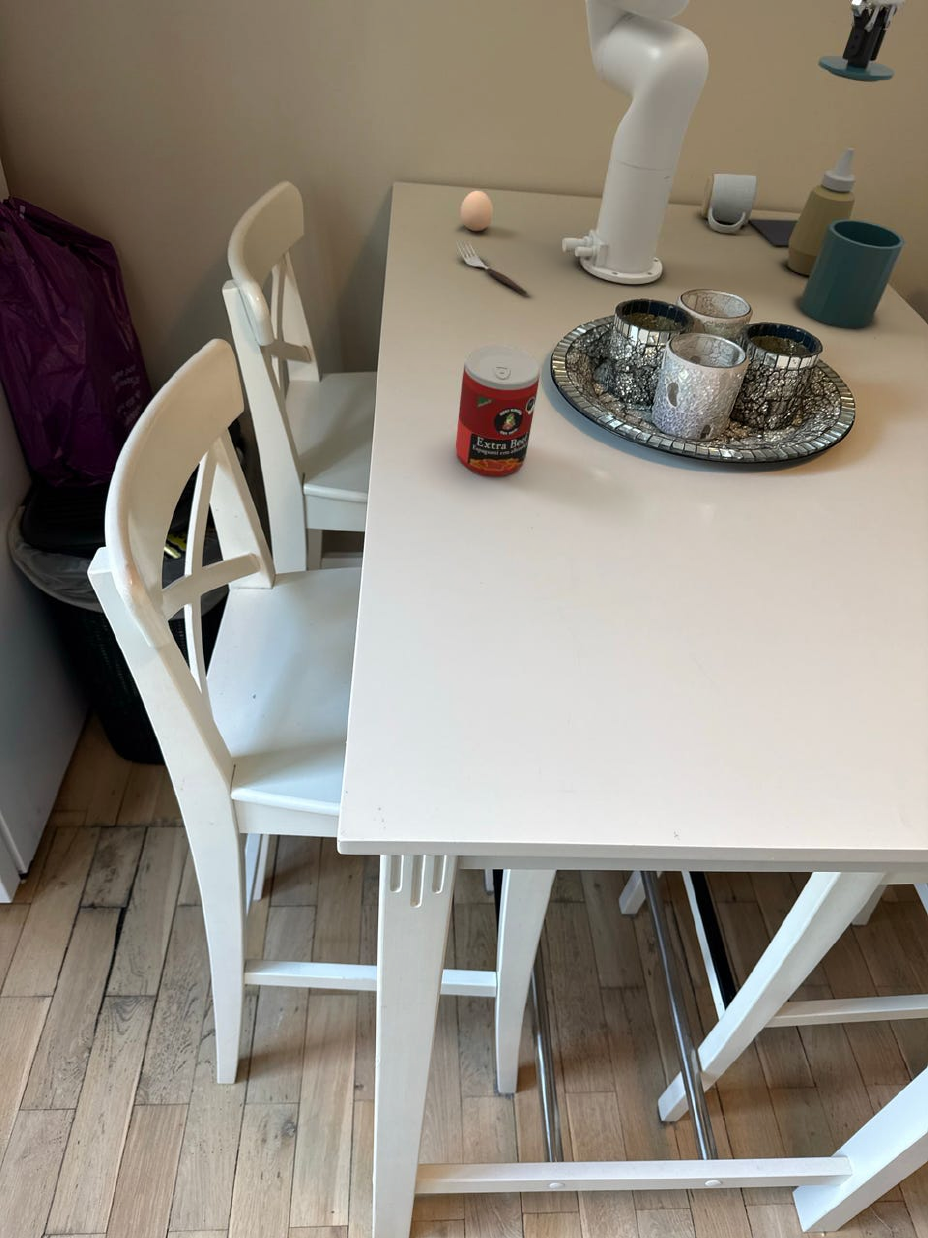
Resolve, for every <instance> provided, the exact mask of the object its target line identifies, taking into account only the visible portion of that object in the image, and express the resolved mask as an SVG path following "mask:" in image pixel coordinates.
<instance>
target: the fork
mask: <svg viewBox="0 0 928 1238" xmlns="http://www.w3.org/2000/svg"><path fill="white" fill-rule="evenodd" d="M459 243H460V246H461V247H460V246H459V244H458V242H456V243H455V244H456V246H457V249H458V250H459V253H460V254H461V257H462V258H463V261H464V262H465V263H466V265H468V266H469V267H472V268H473V267H474V268H475V267H476V268H483V269H485V270H486V271H487V272H489V273H490V274H491V275H492V276H493V277H494V278H495V279H497V280H498V281H499V282H502V283H503V284H505V285H507V286H509V287H511V288H513V289H515V290H516V291H518V292H520V293H522V294H523V295H528V292H527V291H526V290H525V289H524V288H522V287H521V286H520V285H518V284H517V283H516V282H514V281H513V280H512V279H510V278H509V277H507V276H506V275H505V274H502V273H500V272H499V271H496V270H495V269H492V268H491V267H488V266H486V265H485V264H484V262H483V261H482V260H481V259H480V258H479V256H478V255H477V253H476V251H475V250H474V249H473V247H472V245H471V243H470V241H469V240H467V243H466V241H463V243H464V246H465V247H464V246H463V244H462V241H460V242H459ZM467 244H468V245H467ZM468 246H469V247H468ZM461 248H462V250H463V251H462V250H461ZM465 248H466V249H465ZM464 254H465V255H464Z"/></svg>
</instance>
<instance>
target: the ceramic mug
mask: <svg viewBox="0 0 928 1238" xmlns="http://www.w3.org/2000/svg"><path fill="white" fill-rule="evenodd" d="M757 186H758V177H757V176H756V175H751V174H735V173H734V174H732V173H714V174H711V175H709V176H708V178H707V179H706V183H705V188H704V192H703V196H702V202H701V208H700V209H701V211H700V214H701V216H702V217H703V218H705V219H707V220H708V223H709V226H710V227H711V228H712V229H713V230H714V231H716V232H718V233H721V234H732V233H735V232H737V231H738V230H740V228H741V227H742V226H747V224H748V223H749V222H748V220H750V217H751V214H752V212H753V207H754V204H755V200H756V193H757V188H758V187H757ZM717 221H718V222H717ZM719 222H723V223H729V224H731V225H727V224H721V223H719Z"/></svg>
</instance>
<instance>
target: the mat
mask: <svg viewBox="0 0 928 1238" xmlns="http://www.w3.org/2000/svg"><path fill="white" fill-rule="evenodd" d="M797 222H798V220H789V219H788V220H785V219H782V220H781V219H749V220H748V222H747V223H748V224H749V225H751V226H752V227H753V228H754V230H756V231H757V232H758V233H759V234H761V236H763V237H764V238H765V239H766V240H767V241H768V242H769V243H770V244H772V245H773V246H774V247H775V248H789V239H790V237H791V235H792V233H793V230H794V228H795V226H796V224H797Z"/></svg>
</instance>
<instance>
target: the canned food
mask: <svg viewBox="0 0 928 1238" xmlns="http://www.w3.org/2000/svg"><path fill="white" fill-rule="evenodd" d="M462 372H463V373H462V379H461V381H462V382H461V389H460V390H461V391H460V400H459V412H458V422H457V430H456V441H455V450H456V455H457V459H458V460H459V462H460V463H461V464H462V466H464V467H465V468H466V469H468V470H469V471H472V472H473V473H476V474H479V475H483V476H489V477H501V476H502V477H503V476H506V475H511V474H513V473H514V472H516V471H517V470H519V469H520V467H521V466H522V465H523V464H524V461H525V459H526V457H527V451H528V446H529V440H530V435H531V429H532V423H533V418H534V412H535V407H536V406H535V405H536V400H537V395H538V389H539V382H540V376H541V365H540V364H539V362H538V360H537V359H536V358H535V357H534V356H533V355H531V354H530V353H528V352H526V351H524V350H522V349H519V348H517V347H513V346H508V345H500V344H492V345H490V344H489V345H483V346H479V347H476V348H474V349H472V350H471V351H469V352H468V353H467V355H466V356H465V361H464V364H463V371H462Z"/></svg>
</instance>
